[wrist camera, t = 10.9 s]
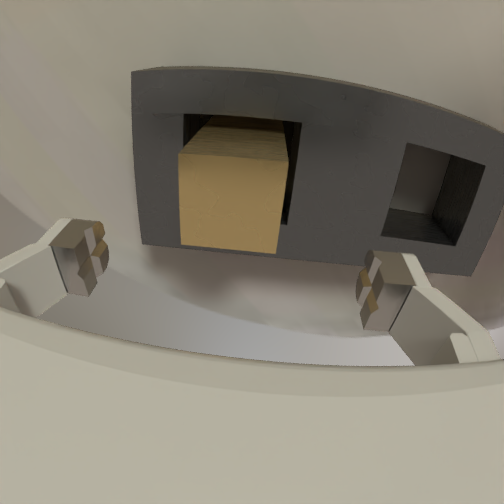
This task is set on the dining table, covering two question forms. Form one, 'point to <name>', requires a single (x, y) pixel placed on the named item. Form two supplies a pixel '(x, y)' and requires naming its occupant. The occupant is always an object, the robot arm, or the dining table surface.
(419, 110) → the block with square holes
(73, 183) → the dining table surface
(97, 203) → the dining table surface
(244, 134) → the peg
